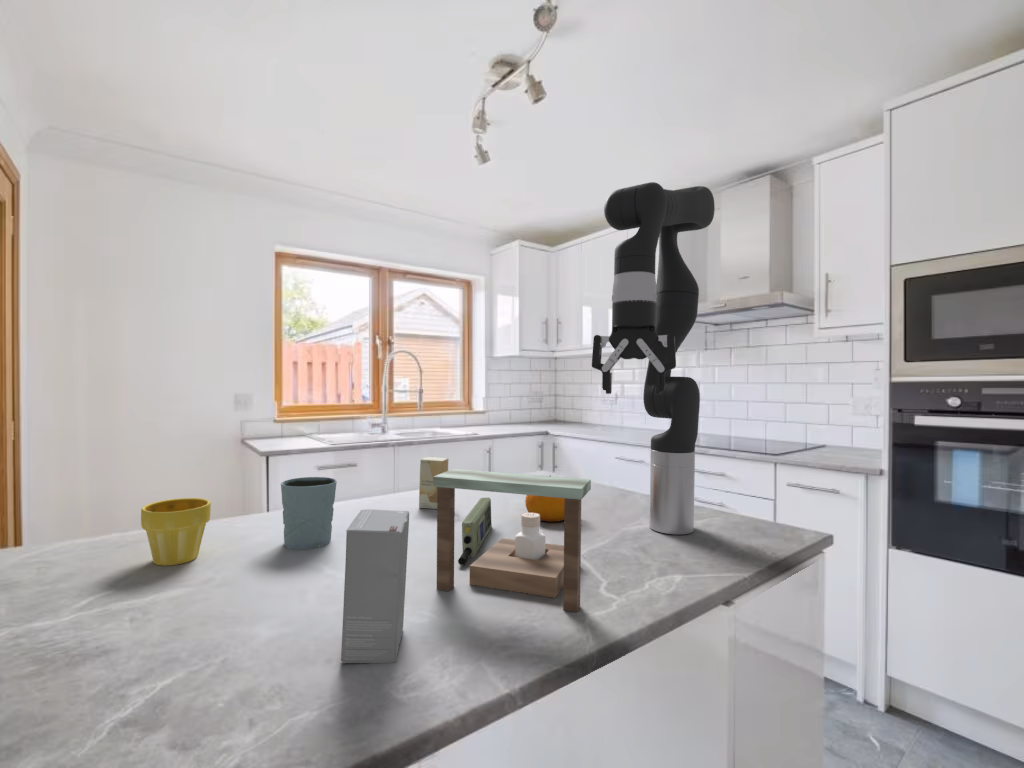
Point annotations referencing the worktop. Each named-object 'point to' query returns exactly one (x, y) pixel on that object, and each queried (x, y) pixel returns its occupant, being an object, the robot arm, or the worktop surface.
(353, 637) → the skincare box
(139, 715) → the worktop surface
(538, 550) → the pepper shaker
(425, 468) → the skincare box
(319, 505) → the teal cup
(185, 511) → the plant pot
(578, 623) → the worktop surface
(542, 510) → the fruit
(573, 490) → the stand
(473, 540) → the handheld radio
